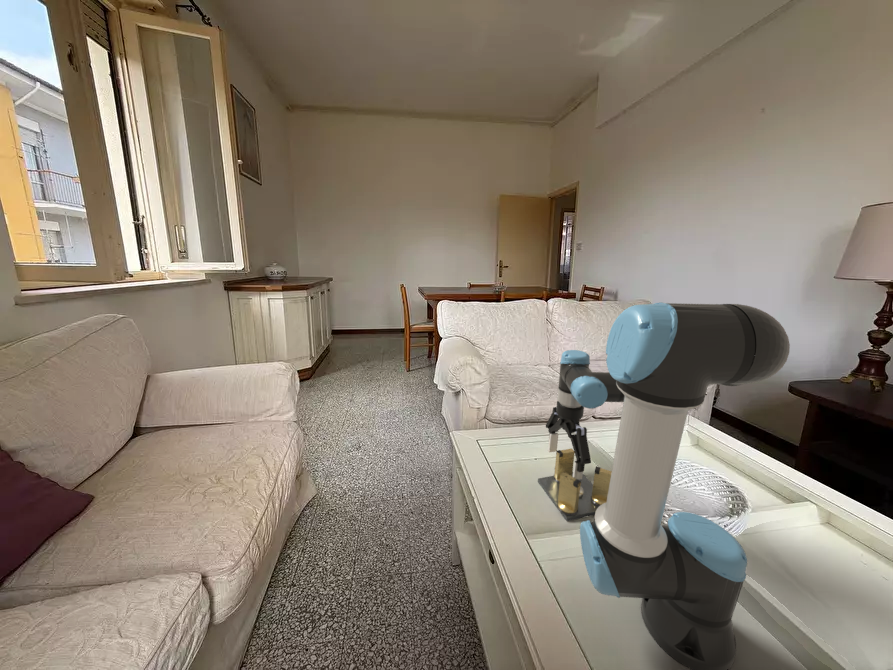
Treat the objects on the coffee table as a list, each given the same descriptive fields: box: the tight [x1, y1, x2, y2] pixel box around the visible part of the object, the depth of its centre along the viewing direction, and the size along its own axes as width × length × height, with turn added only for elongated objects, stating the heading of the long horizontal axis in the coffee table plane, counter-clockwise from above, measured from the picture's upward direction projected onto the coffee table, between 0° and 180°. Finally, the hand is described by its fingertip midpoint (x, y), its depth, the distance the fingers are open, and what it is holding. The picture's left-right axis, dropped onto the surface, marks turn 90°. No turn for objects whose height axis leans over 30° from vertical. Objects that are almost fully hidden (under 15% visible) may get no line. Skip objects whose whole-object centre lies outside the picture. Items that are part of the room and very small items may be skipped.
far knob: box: [553, 448, 575, 482], centre depth 105 cm, size 5×5×10 cm
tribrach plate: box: [537, 472, 600, 522], centre depth 102 cm, size 17×17×2 cm
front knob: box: [558, 472, 581, 514], centre depth 94 cm, size 5×5×10 cm
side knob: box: [592, 466, 612, 505], centre depth 96 cm, size 5×5×10 cm
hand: (564, 464), depth 106 cm, fingers open, 13 cm apart
